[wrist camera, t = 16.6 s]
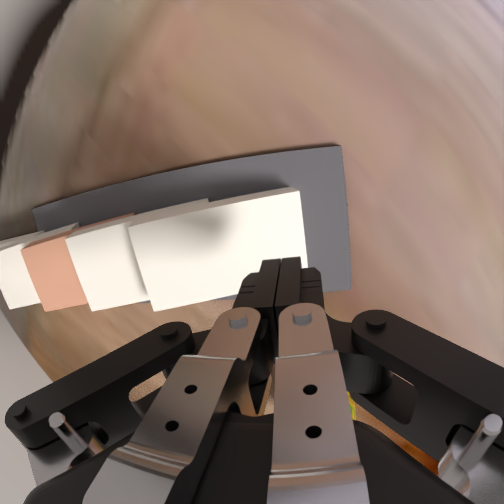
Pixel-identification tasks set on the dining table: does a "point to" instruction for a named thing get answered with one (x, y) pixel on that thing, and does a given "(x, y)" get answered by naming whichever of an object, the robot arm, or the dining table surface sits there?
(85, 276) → the domino
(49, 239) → the domino
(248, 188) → the mat
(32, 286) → the domino
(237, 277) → the domino
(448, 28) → the dining table surface
